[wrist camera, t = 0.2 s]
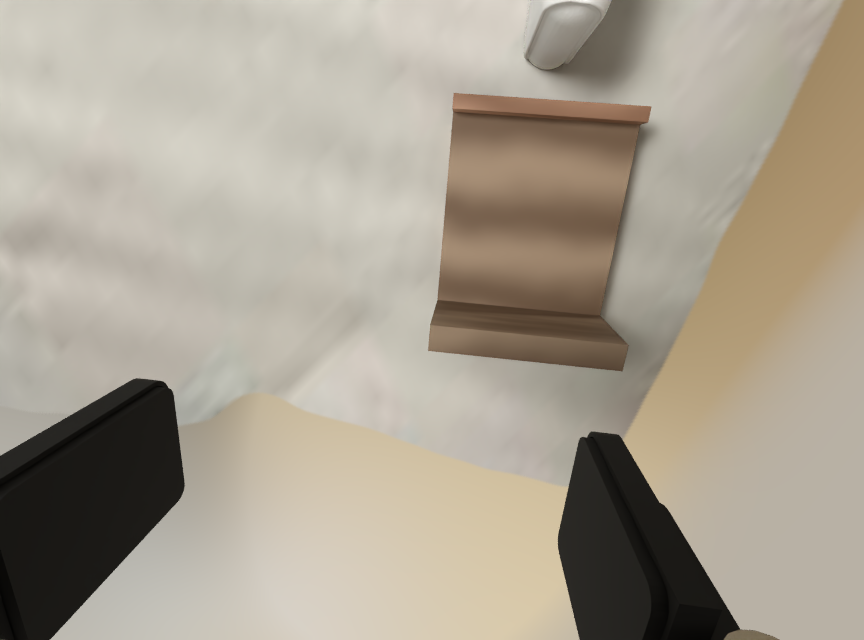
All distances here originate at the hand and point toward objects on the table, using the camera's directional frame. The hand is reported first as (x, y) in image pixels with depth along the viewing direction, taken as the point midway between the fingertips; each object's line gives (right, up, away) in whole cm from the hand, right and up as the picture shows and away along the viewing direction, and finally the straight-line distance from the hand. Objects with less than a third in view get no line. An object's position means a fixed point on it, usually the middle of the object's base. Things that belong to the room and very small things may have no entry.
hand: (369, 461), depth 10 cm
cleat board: (+10, +13, +27) cm, 32 cm away
